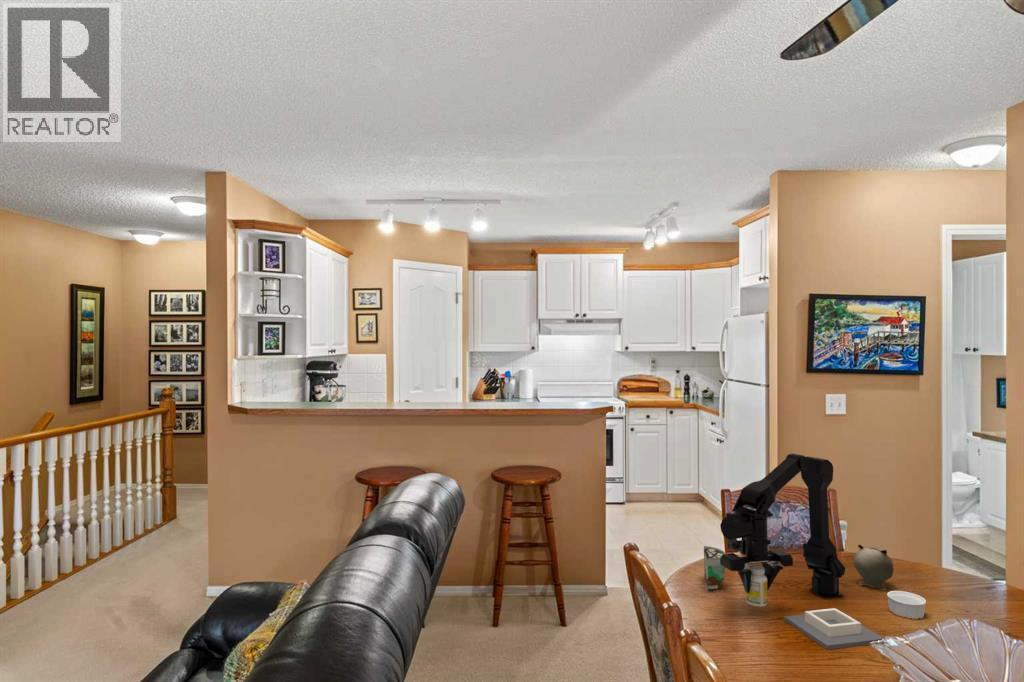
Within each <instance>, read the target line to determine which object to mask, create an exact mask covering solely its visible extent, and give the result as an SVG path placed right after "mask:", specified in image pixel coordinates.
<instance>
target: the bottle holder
mask: <svg viewBox="0 0 1024 682" xmlns="http://www.w3.org/2000/svg"><path fill="white" fill-rule="evenodd" d="M783 617H784V619H783V621H785V622H786V623H788V624H789V625H790V624H791V625H790V626H792V627H793V628H795V629H796V630H798V631H799V632H800V633H802V634H804V635H805V636H806V637H808V638H810V639H811V640H812V641H814V642H815V643H817V644H818V645H820V646H821V647H822V648H824V649H826V650H836V649H845V648H851V647H852V646H853V647H861V645H862V646H868V645H867V644H869V643H870V642H872V641H878V640H882V639H885V637H883V636H882V635H879V634H878V633H876V632H875V631H873V630H871V629H869V628H868V627H866V626H865V625H862V623H861V622H860V621H858V620H857V619H855V618H853V617H851V616H849V615H848V614H846V613H844V612H842V611H841V610H839V609H837V608H836V607H833V608H825V609H814V610H805V611H804V613H803V614H796V615H795V614H794V615H787V616H786V615H785V616H783ZM885 640H886V639H885Z"/></svg>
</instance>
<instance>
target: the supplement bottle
mask: <svg viewBox="0 0 1024 682" xmlns="http://www.w3.org/2000/svg"><path fill="white" fill-rule="evenodd" d="M748 569H749V570H751V571H752V573H751V584H750V591H749V593H747V592H746V591H745V593H746V595H745V597H746V599H745V600H746V601H745V602H747V604H749V605H751V606H754V607H765V606H767V605H768V591H767V577H766V576H765V575H764V573H765V568H764V567H763V565H762V566H761V565H757V564H749V565H748Z"/></svg>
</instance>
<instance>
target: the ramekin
mask: <svg viewBox="0 0 1024 682" xmlns="http://www.w3.org/2000/svg"><path fill="white" fill-rule="evenodd" d="M886 596H887V600H888V601H887V602H888V609H889V611H890V612H891V613H892V612H893V613H892V614H894V613H895V614H897V615H896V616H898V615H899V616H898V617H900V616H903V617H902V618H904V617H907V618H906V619H909V618H912V619H911V620H920V619H923V618H924V615H925V609H926V605H927V600H926V598H924V597H923V596H921V595H918V594H916V593H914V592H913V593H912V592H909V591H904V590H891V591H888V592H887V594H886ZM895 614H894V615H895ZM919 618H920V619H919Z"/></svg>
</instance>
